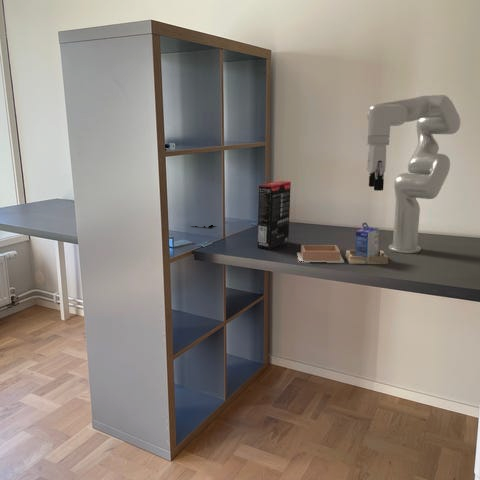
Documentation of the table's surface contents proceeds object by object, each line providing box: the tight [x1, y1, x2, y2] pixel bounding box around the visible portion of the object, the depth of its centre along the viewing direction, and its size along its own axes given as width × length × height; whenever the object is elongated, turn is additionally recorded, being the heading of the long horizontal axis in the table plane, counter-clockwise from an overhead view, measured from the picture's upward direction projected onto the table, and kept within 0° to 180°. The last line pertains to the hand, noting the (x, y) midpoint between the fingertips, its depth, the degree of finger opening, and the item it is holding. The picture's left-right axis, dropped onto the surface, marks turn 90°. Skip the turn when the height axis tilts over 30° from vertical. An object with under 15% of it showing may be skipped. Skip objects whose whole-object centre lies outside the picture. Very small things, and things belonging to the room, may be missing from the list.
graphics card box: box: [256, 180, 292, 250], centre depth 211 cm, size 17×7×27 cm, turn 147°
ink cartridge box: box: [355, 222, 380, 265], centre depth 188 cm, size 10×6×14 cm, turn 142°
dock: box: [296, 244, 345, 264], centre depth 192 cm, size 12×17×4 cm
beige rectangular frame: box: [345, 249, 389, 265], centre depth 190 cm, size 10×14×3 cm
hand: (375, 188), depth 181 cm, fingers open, 9 cm apart
